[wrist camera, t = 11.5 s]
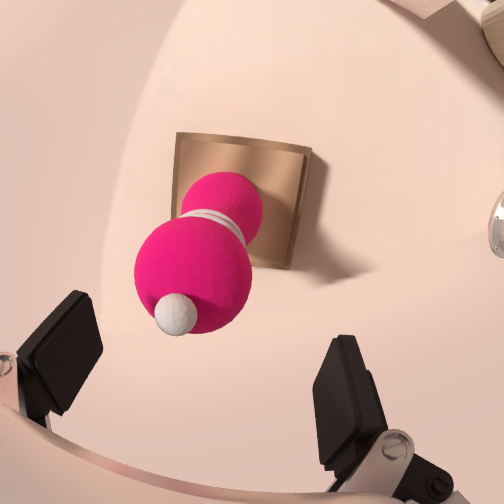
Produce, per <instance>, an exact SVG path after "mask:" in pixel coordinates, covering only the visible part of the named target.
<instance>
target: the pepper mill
mask: <svg viewBox="0 0 504 504" xmlns="http://www.w3.org/2000/svg"><path fill="white" fill-rule="evenodd" d="M262 217H263V206H262V201H261V199H260V196H259V194H258V192H257V191H256V189H255V188H254V186H253V185H252V183H251V182H250V181H249V180H248V179H247V178H245V177H244V176H242V175H240V174H237V173H234V172H216V173H212V174H208V175H206V176H204V177H202V178H200V179H199V180H197V181H196V182H195V183H194V184H193V185H192V186H191V188H190V189H189V190H188V192H187V193H186V195H185V197H184V199H183V202H182V206H181V216H180V217H179V218H174V219H172V220H170V221H168V222H166V223H164V224H162V225H161V226H159V227H158V228H156V229H155V230H154V231H153V232H152V233H151V234H150V235H149V237H148V238H147V239H146V240H145V242H144V243H143V245H142V247H141V248H140V251H139V253H138V255H137V258H136V262H135V267H134V279H135V286H136V289H137V293H138V296H139V298H140V300H141V302H142V304H143V305H144V307H145V308H146V310H147V311H148V312H149V314H150V315H151V316H152V317H153V318H155V320H156V323H157V325H158V327H159V328H160V329H161V330H162V331H163V332H165V333H166V334H168V335H172V336H181V335H184V334H186V333H191V334H203V333H208V332H212V331H215V330H217V329H219V328H222V327H223V326H225V325H226V324H228V323H229V322H231V321H232V320H233V319H234V318H235V317H236V316H237V315H238V314H239V312H240V311H241V310H242V309H243V307H244V305H245V303H246V301H247V299H248V295H249V292H250V289H251V283H252V268H251V263H250V260H249V257H248V254H247V250H246V246H247V245H248V244H249V243H250V242H251V241H252V240H253V239H254V238H255V237H256V235H257V233H258V231H259V229H260V226H261V222H262Z"/></svg>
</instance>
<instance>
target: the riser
mask: <svg viewBox="0 0 504 504" xmlns="http://www.w3.org/2000/svg"><path fill="white" fill-rule="evenodd" d="M311 151H312V148H310V147H306V146H300V145H294V144H288V143H282V142H275V141H269V140H261V139H254V138H245V137H236V136H226V135H215V134H202V133H185V132H177V133H176V144H175V155H174V168H173V184H172V204H171V220H172V219H174V218H179V217H180V216H181V206H182V202H183V199H184V197H185V195H186V193H187V192H188V190H189V189H190V188H191V186H192V185H193V184H194V183H195V182H196V181H197V180H199V179H200V178H202V177H204V176H206V175H208V174H212V173H216V172H234V173H237V174H240V175H242V176H244V177H245V178H247V179H248V180H249V181H250V182H251V183H252V185H253V186H254V188H255V189H256V191H257V192H258V194H259V196H260V199H261V201H262V206H263V217H262V222H261V226H260V229H259V231H258V233H257V235H256V237H255V238H254V239H253V240H252V241H251V242H250V243H249V244H248V245H247V246H246V250H247V254H248V257H249V260H250V263H251V265H252V266H260V267H268V268H276V269H284V270H289V268H290V264H291V259H292V254H293V249H294V244H295V239H296V234H297V229H298V224H299V219H300V213H301V208H302V203H303V197H304V192H305V186H306V180H307V175H308V169H309V163H310V157H311Z"/></svg>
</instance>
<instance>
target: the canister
mask: <svg viewBox="0 0 504 504" xmlns="http://www.w3.org/2000/svg"><path fill="white" fill-rule="evenodd" d="M481 22H482V27H483V32H484V35H485V37H486V40H487V42H488V45H489V46H490V48H491V50H492V52H493V53H494V55H495V56H496V58H497V60H498V61H499V62H500V64H501V65H503V67H504V0H496V1H495V2H493V3H491V4H490V5H488V6H487V7H486V8H485V9H484V11H483V12H482V16H481Z"/></svg>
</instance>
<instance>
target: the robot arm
mask: <svg viewBox="0 0 504 504" xmlns="http://www.w3.org/2000/svg"><path fill="white" fill-rule="evenodd" d="M489 242H490V247H491V249H492V251H493V253H495V255H497V256H498V257H500V258H504V193H503V194H502V195H501V196H500V198H499V199H498V201H497V203H496V204H495V207H494V209H493V212H492V215H491V219H490V224H489ZM102 352H103V344H102V341H101V337H100V334H99V330H98V326H97V322H96V317H95V313H94V309H93V305H92V300H91V298H90V297H89V296H88V294H87V293H85V292H81V291H78V290H74V291H72V292H71V293H70V294H69V295H68V296H67V297H66V298H65V299H64V300H63V301H62V302H61V303H60V305H58V306H57V307H56V308H55V310H54V311H53V312H52V313H51V314H50V315H49V316H48V317H47V318H46V319H45V320H44V321H43V322H42V323H41V324H40V326H39V327H38V328H37V329H36V330H35V331H34V332H33V333H32V334H31V336H30V337H29V338H28V339H27V340H26V341H25V342H24V343H23V345H22V346H21V347H20V348H19V349H18V351H17V352H16V353H17V355H18V357H17V358H15V356H14V355H13V354H12V353H9V352H2V353H0V504H470V503H469V502H468V501H467V500H466V499H465V498H464V496H463V495H462V494H461V493H460V492H459V491H458V490H457V491H455V492H454V491H453V487H454V483H453V480H452V477H451V475H450V474H449V473H447V472H446V471H444V470H443V469H441V468H439V467H437V466H435V465H434V464H432V463H430V462H429V461H427V460H425V459H423V458H422V457H420V456H418V455H417V454H415V453H414V443H413V440H412V438H411V437H410V436H409V435H408V434H407V433H405V432H404V431H401V430H398V429H390V430H389V429H388V426H387V423H386V419H385V415H384V412H383V409H382V405H381V402H380V399H379V396H378V392H377V389H376V386H375V383H374V380H373V377H372V374H371V372H370V371H369V370H366V367H365V364H364V361H363V358H362V355H361V353H360V349H359V347H358V344H357V341H356V338H355V336H353V335H338V337H337V338H333V339H332V342H331V344H330V347H329V349H328V351H327V354H326V356H325V359H324V361H323V364H322V366H321V368H320V370H319V373H318V375H317V377H316V379H315V381H314V384H313V400H314V409H315V418H316V428H317V438H318V448H319V460H320V464H322V465H324V466H325V467H324V468H325V471H333V470H334V475H335V478H336V479H335V481H333V483H332V484H331V485H330V486H329V488H328V489H327V490H326V491H325V492H324V493H272V492H254V491H243V490H233V489H225V488H218V487H211V486H205V485H200V484H194V483H190V482H185V481H180V480H176V479H172V478H168V477H164V476H160V475H156V474H153V473H149V472H146V471H143V470H140V469H136V468H133V467H130V466H128V465H125V464H122V463H119V462H116V461H114V460H111V459H109V458H106V457H104V456H101V455H99V454H96V453H94V452H91V451H89V450H87V449H85V448H83V447H81V446H78V445H76V444H74V443H72V442H70V441H68V440H66V439H64V438H62V437H60V436H59V435H57V434H55V433H53V432H52V429H51V424H50V420H49V415H48V413H49V412H50V410H51V411H52V412H54V413H56V414H58V415H60V416H62V415H63V413H64V411H67V410H68V409H69V408H70V406H71V404H72V403H73V401H74V399H75V397H76V396H77V394H78V392H79V390H80V389H81V387H82V385H83V384H84V382H85V380H86V379H87V377H88V375H89V374H90V372H91V370H92V369H93V367H94V366H95V364H96V362H97V361H98V359H99V357H100V356H101V354H102Z"/></svg>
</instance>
